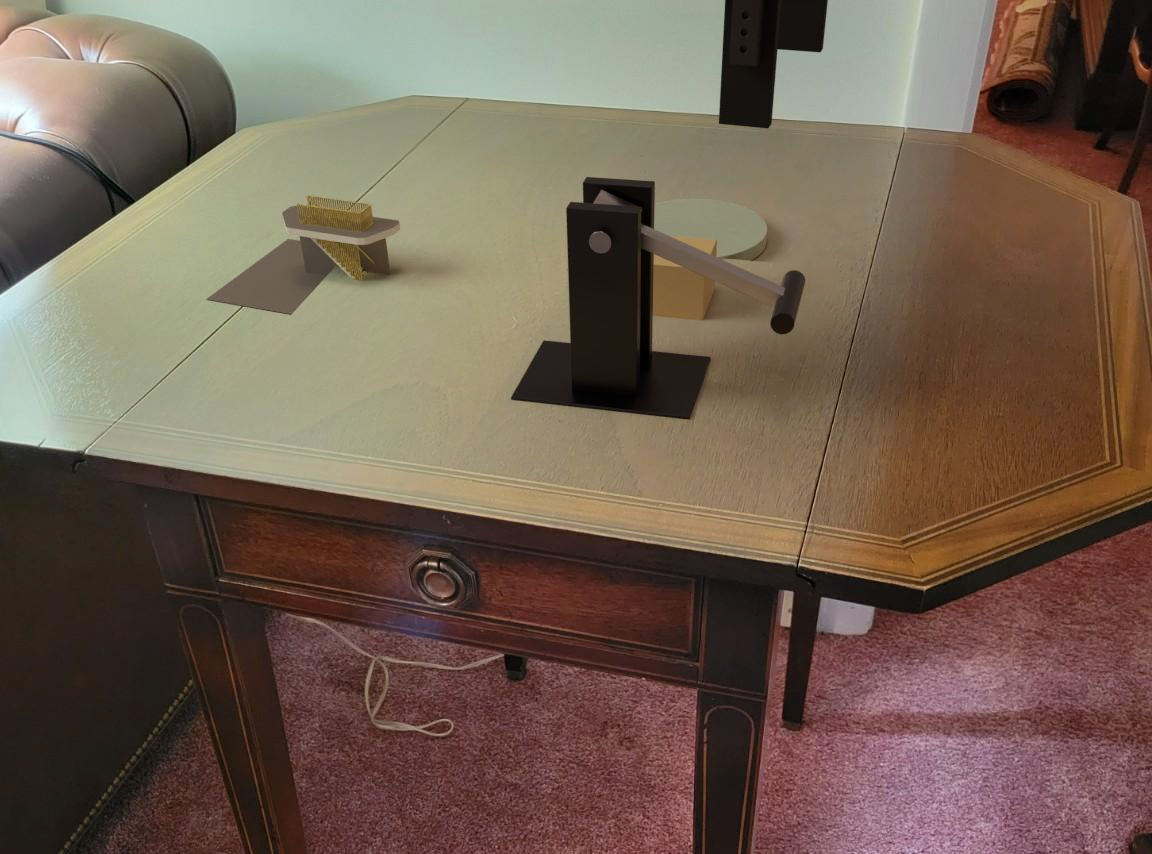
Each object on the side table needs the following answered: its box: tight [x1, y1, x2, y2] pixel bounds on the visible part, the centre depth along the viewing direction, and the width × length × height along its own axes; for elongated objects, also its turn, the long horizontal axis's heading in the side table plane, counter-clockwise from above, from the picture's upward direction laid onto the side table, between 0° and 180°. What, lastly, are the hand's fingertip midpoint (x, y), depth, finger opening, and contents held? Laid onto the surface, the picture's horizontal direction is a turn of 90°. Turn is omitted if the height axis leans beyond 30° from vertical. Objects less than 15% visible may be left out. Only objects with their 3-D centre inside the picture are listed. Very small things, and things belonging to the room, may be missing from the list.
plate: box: [654, 198, 769, 262], centre depth 101 cm, size 12×12×1 cm
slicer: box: [510, 176, 712, 420], centre depth 78 cm, size 12×8×14 cm, turn 75°
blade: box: [594, 190, 806, 335], centre depth 75 cm, size 14×6×2 cm, turn 74°
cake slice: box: [653, 236, 717, 321], centre depth 90 cm, size 5×5×5 cm
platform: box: [206, 194, 401, 315], centre depth 95 cm, size 12×18×7 cm, turn 67°
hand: (774, 84), depth 70 cm, fingers open, 13 cm apart
